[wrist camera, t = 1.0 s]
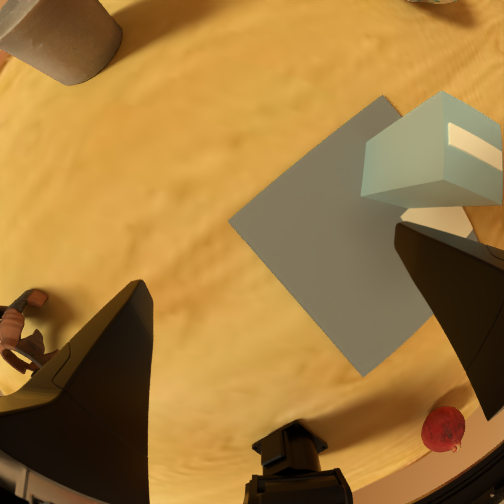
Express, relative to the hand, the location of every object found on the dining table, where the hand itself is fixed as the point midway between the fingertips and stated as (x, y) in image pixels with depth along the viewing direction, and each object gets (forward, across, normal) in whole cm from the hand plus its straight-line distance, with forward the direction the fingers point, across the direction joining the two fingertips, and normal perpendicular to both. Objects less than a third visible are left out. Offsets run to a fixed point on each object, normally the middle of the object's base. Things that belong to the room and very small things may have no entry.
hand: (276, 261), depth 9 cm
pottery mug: (+13, +28, +11) cm, 33 cm away
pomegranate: (+1, -18, +30) cm, 34 cm away
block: (+13, -13, +3) cm, 19 cm away
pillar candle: (+25, +14, -17) cm, 33 cm away
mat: (+12, -11, +8) cm, 18 cm away
